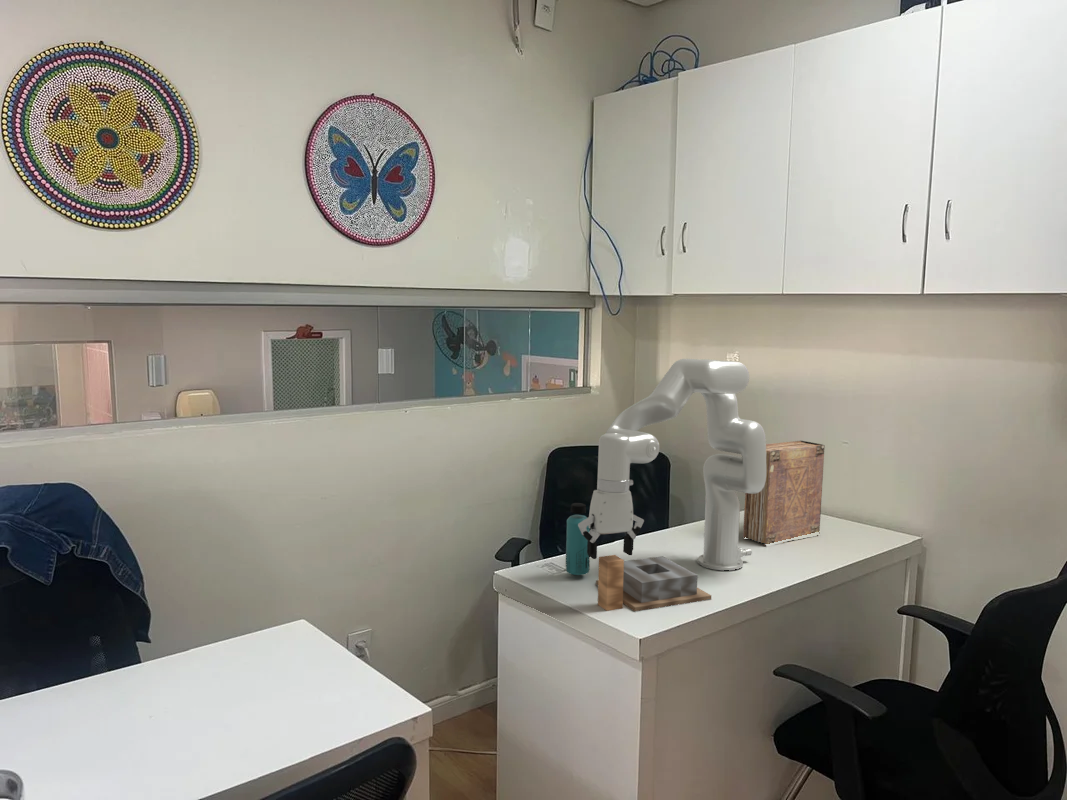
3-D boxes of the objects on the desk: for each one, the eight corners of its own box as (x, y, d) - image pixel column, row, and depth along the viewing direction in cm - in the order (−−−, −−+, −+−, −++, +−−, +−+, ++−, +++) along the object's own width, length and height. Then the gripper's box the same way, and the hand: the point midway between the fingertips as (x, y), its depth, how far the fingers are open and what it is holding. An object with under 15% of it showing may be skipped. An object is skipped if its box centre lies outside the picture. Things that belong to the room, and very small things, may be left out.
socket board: (667, 574, 213) (668, 552, 212) (711, 599, 194) (712, 576, 194) (595, 584, 204) (596, 561, 203) (634, 611, 186) (635, 587, 185)
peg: (613, 602, 192) (614, 554, 190) (622, 608, 188) (623, 560, 186) (597, 604, 190) (598, 556, 188) (606, 610, 186) (607, 562, 184)
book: (765, 547, 239) (769, 450, 235) (742, 539, 247) (746, 446, 243) (819, 535, 252) (825, 444, 249) (796, 528, 260) (801, 440, 256)
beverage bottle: (587, 581, 206) (589, 507, 203) (563, 579, 207) (564, 506, 205) (590, 573, 212) (592, 501, 210) (566, 571, 213) (568, 500, 211)
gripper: (636, 480, 192) (633, 548, 194) (573, 484, 185) (570, 554, 187) (652, 486, 185) (649, 556, 187) (587, 491, 178) (585, 563, 180)
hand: (610, 555), depth 187 cm, fingers open, 9 cm apart
